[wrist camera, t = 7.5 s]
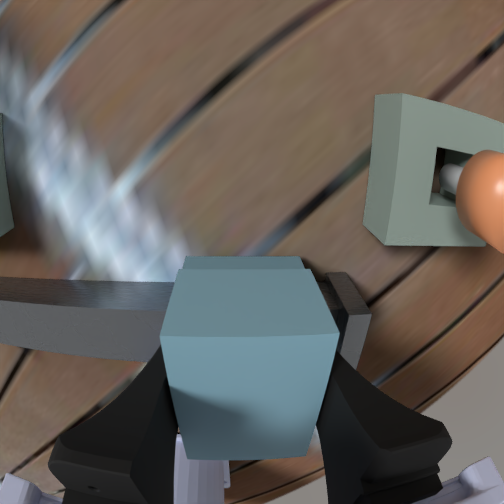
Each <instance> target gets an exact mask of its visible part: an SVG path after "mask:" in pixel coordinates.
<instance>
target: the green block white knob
mask: <svg viewBox="0 0 504 504" xmlns="http://www.w3.org/2000/svg"><path fill="white" fill-rule="evenodd" d="M13 228H14V222H13V217H12V211H11V205H10V199H9V192H8V185H7V177H6V169H5V159H4V147H3V129H2V113H0V237H1V236H3V235H4V234H5V233H7V232H8V231H10V230H11V229H13Z"/></svg>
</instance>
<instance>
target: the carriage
mask: <svg viewBox="0 0 504 504" xmlns="http://www.w3.org/2000/svg"><path fill="white" fill-rule="evenodd" d="M339 334H340V333H339V330H338V328H337V326H336V324H335V321H334V319H333V317H332V315H331V313H330V310H329V308H328V306H327V304H326V302H325V300H324V297H323V295H322V293H321V291H320V289H319V287H318V284H317V282H316V280H315V278H314V276H313V274H312V272H311V270H310V269H305V268H304V265H303V263H302V261H301V259H300V256H186V258H185V262H184V265H183V269H179V271H178V274H177V277H176V280H175V284H174V287H173V290H172V294H171V297H170V301H169V304H168V307H167V311H166V314H165V318H164V322H163V325H162V329H161V332H160V341H161V347H162V352H163V357H164V363H165V368H166V373H167V378H168V382H169V387H170V392H171V396H172V401H173V405H174V409H175V413H176V418H177V422H178V426H179V430H180V434H181V438H182V441H183V445H184V449H185V453H186V456H187V459H192V460H261V459H278V458H290V457H301V456H306V454H307V451H308V448H309V445H310V441H311V438H312V435H313V432H314V429H315V425H316V422H317V419H318V415H319V412H320V408H321V405H322V401H323V398H324V394H325V390H326V387H327V383H328V379H329V375H330V372H331V368H332V364H333V360H334V355H335V351H336V347H337V343H338V339H339Z"/></svg>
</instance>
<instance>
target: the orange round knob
mask: <svg viewBox="0 0 504 504" xmlns="http://www.w3.org/2000/svg"><path fill="white" fill-rule="evenodd" d="M439 182H440V185H441V187H442V188H443V189H444V190H446V191H449V192H451V193H453V194H455V195H456V208H457V213H458V217H459V219H460V221H461V223H462V225H463V226H464V227H465V228H466V229H467V230H468V231H470V232H471V233H473V234H474V235H476V236H478V237H479V238H481V239H482V240H484V241H485V242H487V243H488V244H489V245H491V246H492V247H494V248H495V249H497V250H498V251H500V252H501V253H503V254H504V153H500V152H497V151H493V150H482V151H480V152H478V153H476V154H475V155H473V156H472V157H471V158H470V159H469V160H468V162H467V163H466V165H465V166H464V167H461V166H458V165H455V164H452V163H448V164H446V165H444V166H443V167H442V169H441V171H440V174H439Z"/></svg>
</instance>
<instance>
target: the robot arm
mask: <svg viewBox="0 0 504 504" xmlns="http://www.w3.org/2000/svg"><path fill="white" fill-rule="evenodd" d="M178 427H179V426H178V422H177V418H176V413H175V409H174V405H173V401H172V396H171V392H170V387H169V382H168V378H167V373H166V368H165V363H164V357H163V352H162V347H161V345H160V346H159V348H158V349H157V351H156V352H155V354H154V355H153V356H152V358H151V359H150V360H149V362H148V363H147V364H146V366H145V367H144V368H143V370H142V371H141V372H140V373H139V374H138V376H137V377H136V378H135V379H134V380H133V381H132V383H131V384H130V385H129V386H128V387H127V388H126V389H125V390H124V391H123V392H122V393H121V394H120V395H119V396H118V397H117V398H116V399H115V400H113V401H112V402H111V403H110V404H109V405H107V406H106V407H105V408H104V409H103V410H101V411H100V412H99V413H97V414H96V415H94V416H93V417H91V418H90V419H88V420H87V421H85V422H84V423H82V424H80V425H79V426H77V427H75V428H73V429H71V430H69V431H67V432H65V433H63V434H61V435H59V437H58V439H57V441H56V443H55V445H54V448H53V450H52V453H51V456H50V459H49V462H48V467H49V469H50V471H51V472H52V474H53V475H54V476H55V477H56V478H57V479H58V480H59V481H60V482H61V483H62V484H63V485H64V486H65V487H66V490H65V494H64V497H63V499H62V498H59V497H56V496H53V495H50V494H47V493H44V492H42V491H41V490H40V489H39V488H38V487H37V486H36V485H35V484H33V483H31V482H30V481H27V480H25V479H22V478H20V477H17V476H15V475H12V474H10V473H6V475H5V478H4V481H3V483H2V486H1V489H0V504H224V488H229V487H230V472H229V460H192V459H187V456H186V453H185V449H184V445H183V441H182V438H181V434H177V432H178ZM316 427H317V430H318V434H319V438H320V443H321V449H322V455H323V461H324V468H325V475H326V484H327V493H328V504H503V503H504V482H503V480H502V479H501V476H500V474H499V472H498V471H497V469H496V467H495V465H494V463H493V461H492V459H491V458H490V456H487V457H485V458H484V459H481V460H479V461H477V462H475V463H473V464H471V465H469V466H468V467H466V468H465V469H464V470H463V471H462V472H461V473H460V474H459V476H457V477H455V478H452V479H450V480H447V481H445V482H442V483H441V481H440V479H439V477H438V475H437V473H439V471H440V469H439V466H438V464H437V463H438V462H439V461H440V460H441V459H442V458H443V456H444V455H445V454H446V453H447V452H448V450H449V449H450V447H451V444H452V439H451V437H450V435H449V433H448V431H447V429H446V428H445V426H444V424H443V423H442V422H440V421H437V420H434V419H432V418H430V417H427V416H424V415H422V414H420V413H418V412H415V411H413V410H411V409H409V408H407V407H405V406H404V405H402V404H400V403H398V402H397V401H395V400H393V399H392V398H390V397H389V396H387V395H386V394H384V393H383V392H381V391H380V390H379V389H377V388H376V387H375V386H373V385H372V384H371V383H370V382H368V381H367V380H366V379H365V378H364V377H363V376H362V375H360V374H359V373H358V372H357V371H356V370H355V369H354V368H353V367H352V366H351V365H350V364H349V363H348V362H347V361H346V360H345V359H344V358H343V357H342V355H341V354H340V353H339V352H338V351H337V350H336V351H335V355H334V360H333V364H332V368H331V372H330V375H329V379H328V383H327V387H326V390H325V394H324V398H323V401H322V405H321V408H320V412H319V415H318V419H317V422H316Z"/></svg>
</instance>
